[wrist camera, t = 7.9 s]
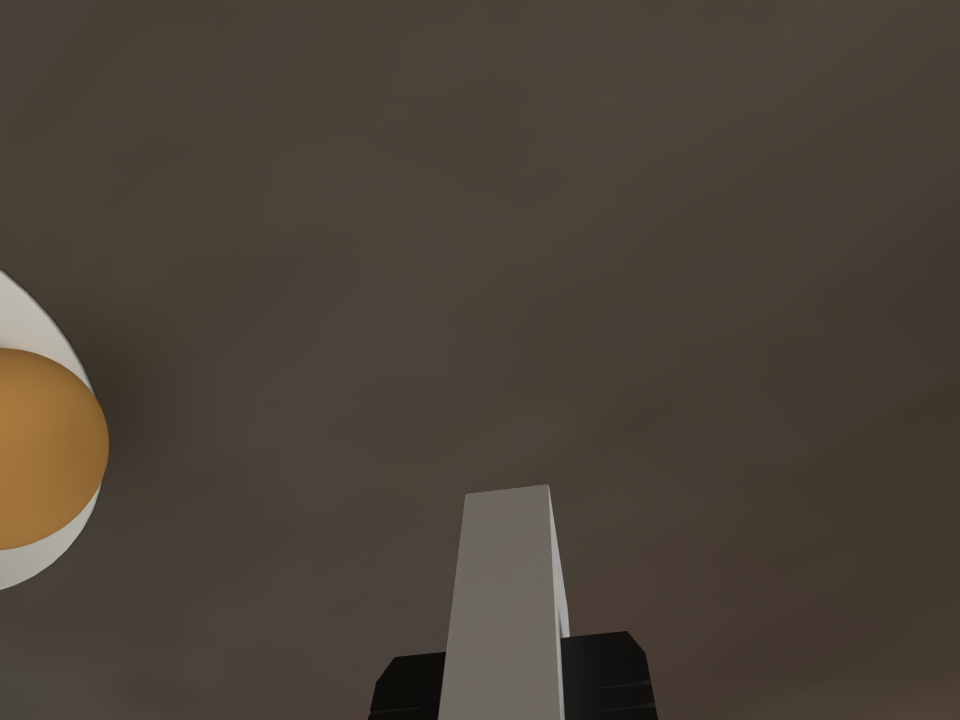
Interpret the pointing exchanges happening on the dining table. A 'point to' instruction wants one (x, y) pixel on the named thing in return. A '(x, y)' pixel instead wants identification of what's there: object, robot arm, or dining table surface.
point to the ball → (46, 447)
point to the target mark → (26, 326)
